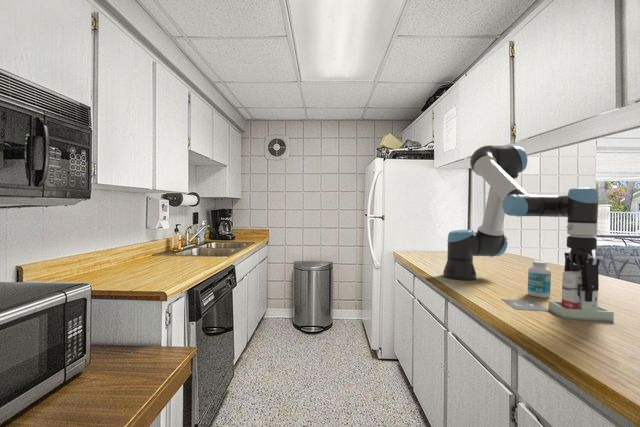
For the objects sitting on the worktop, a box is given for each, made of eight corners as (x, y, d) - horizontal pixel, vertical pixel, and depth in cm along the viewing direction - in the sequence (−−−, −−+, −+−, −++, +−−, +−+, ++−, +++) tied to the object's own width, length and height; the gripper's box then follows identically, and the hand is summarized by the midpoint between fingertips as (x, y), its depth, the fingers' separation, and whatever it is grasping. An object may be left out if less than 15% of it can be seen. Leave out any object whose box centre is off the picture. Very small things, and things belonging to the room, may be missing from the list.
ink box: (574, 311, 101) (575, 274, 101) (560, 307, 106) (561, 271, 106) (598, 311, 102) (599, 274, 102) (584, 306, 107) (585, 271, 107)
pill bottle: (523, 294, 130) (524, 260, 129) (534, 292, 133) (535, 259, 132) (542, 299, 123) (543, 263, 122) (554, 297, 126) (555, 262, 126)
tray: (548, 309, 110) (548, 300, 110) (592, 312, 108) (593, 303, 108) (564, 318, 101) (565, 309, 101) (613, 321, 99) (613, 312, 99)
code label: (501, 299, 121) (501, 299, 121) (533, 301, 120) (533, 300, 120) (515, 309, 110) (515, 308, 110) (551, 311, 108) (551, 311, 108)
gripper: (552, 233, 114) (550, 299, 114) (588, 238, 95) (585, 316, 96) (576, 234, 113) (574, 300, 113) (616, 239, 94) (614, 318, 94)
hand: (579, 307), depth 104 cm, fingers closed on ink box, 6 cm apart
